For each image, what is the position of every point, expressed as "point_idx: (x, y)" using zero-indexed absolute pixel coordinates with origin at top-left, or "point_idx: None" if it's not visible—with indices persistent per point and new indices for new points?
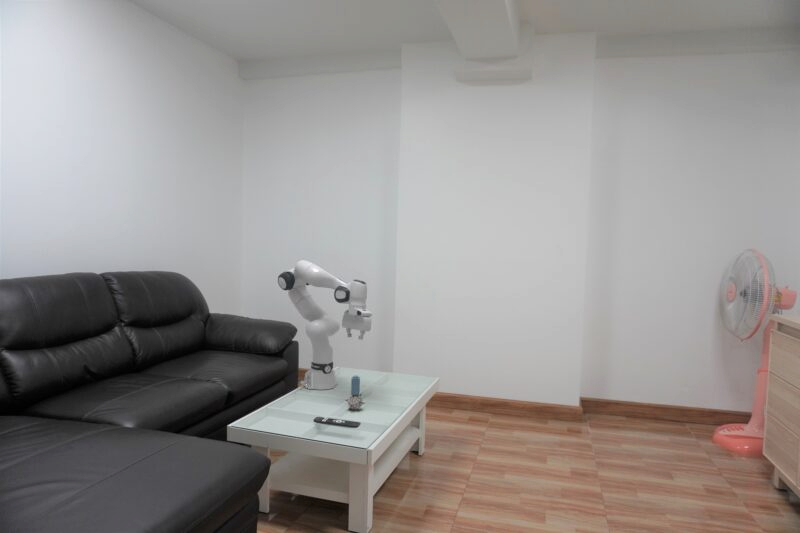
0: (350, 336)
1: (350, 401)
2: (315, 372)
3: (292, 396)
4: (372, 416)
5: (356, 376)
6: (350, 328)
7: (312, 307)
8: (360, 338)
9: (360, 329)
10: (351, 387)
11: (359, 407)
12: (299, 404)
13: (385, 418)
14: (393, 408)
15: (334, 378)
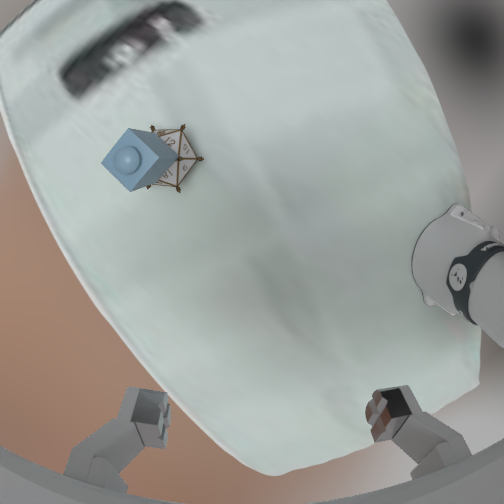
0: (371, 408)
1: (161, 131)
2: (477, 237)
3: (432, 112)
4: (88, 159)
5: (115, 157)
6: (379, 491)
7: None
8: (126, 395)
9: (58, 487)
10: (143, 131)
11: None
12: (352, 61)
13: (58, 180)
14: (110, 263)
15: (435, 299)
